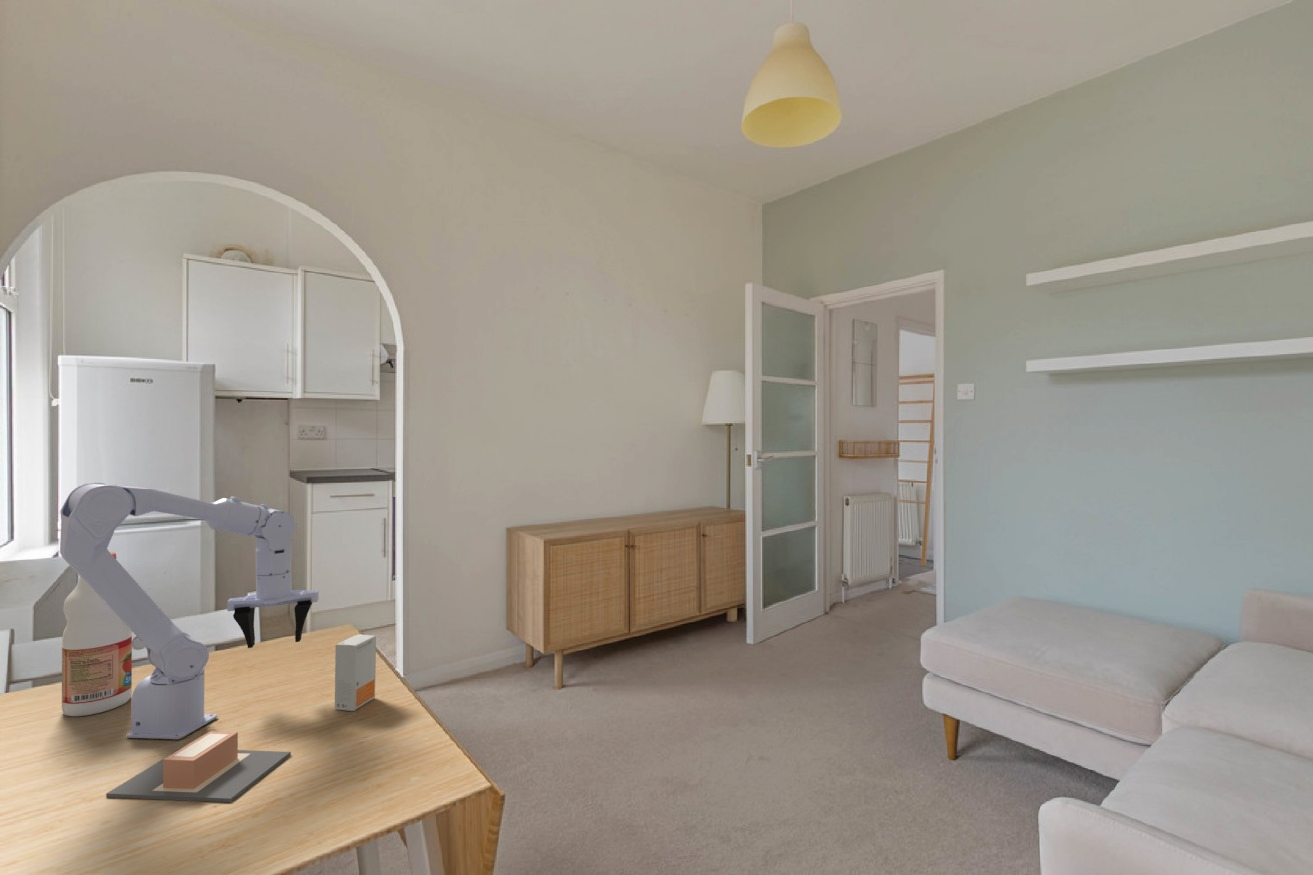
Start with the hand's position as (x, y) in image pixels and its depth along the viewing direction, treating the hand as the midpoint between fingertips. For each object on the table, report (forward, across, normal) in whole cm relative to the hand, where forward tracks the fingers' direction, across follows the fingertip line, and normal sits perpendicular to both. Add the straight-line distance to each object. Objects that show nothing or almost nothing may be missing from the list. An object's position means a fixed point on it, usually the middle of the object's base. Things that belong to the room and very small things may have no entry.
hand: (275, 643), depth 113 cm
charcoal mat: (+10, -4, -26) cm, 29 cm away
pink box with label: (+10, -5, -27) cm, 29 cm away
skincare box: (+11, +14, -9) cm, 20 cm away
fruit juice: (+10, -30, +8) cm, 33 cm away
